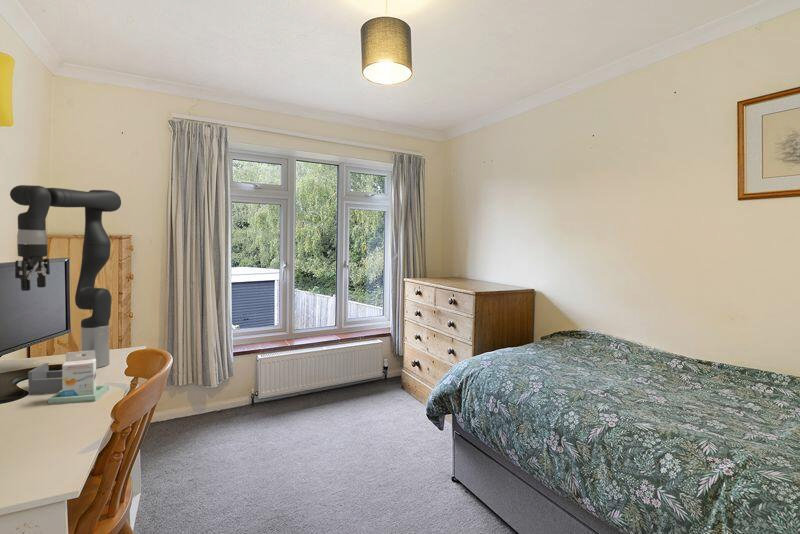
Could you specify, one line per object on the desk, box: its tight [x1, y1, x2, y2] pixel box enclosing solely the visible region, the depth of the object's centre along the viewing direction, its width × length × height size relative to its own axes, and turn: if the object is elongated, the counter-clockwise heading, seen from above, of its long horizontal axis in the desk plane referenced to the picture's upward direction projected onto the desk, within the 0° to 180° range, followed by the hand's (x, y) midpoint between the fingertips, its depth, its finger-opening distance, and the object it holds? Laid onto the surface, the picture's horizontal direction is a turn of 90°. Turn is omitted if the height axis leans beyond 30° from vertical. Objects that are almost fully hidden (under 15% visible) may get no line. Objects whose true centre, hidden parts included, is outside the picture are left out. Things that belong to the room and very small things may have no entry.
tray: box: [47, 384, 110, 405], centre depth 130 cm, size 10×13×2 cm
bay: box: [27, 362, 62, 395], centre depth 136 cm, size 9×12×8 cm
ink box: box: [61, 350, 97, 397], centre depth 130 cm, size 8×5×15 cm, turn 120°
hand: (33, 288), depth 133 cm, fingers open, 8 cm apart
